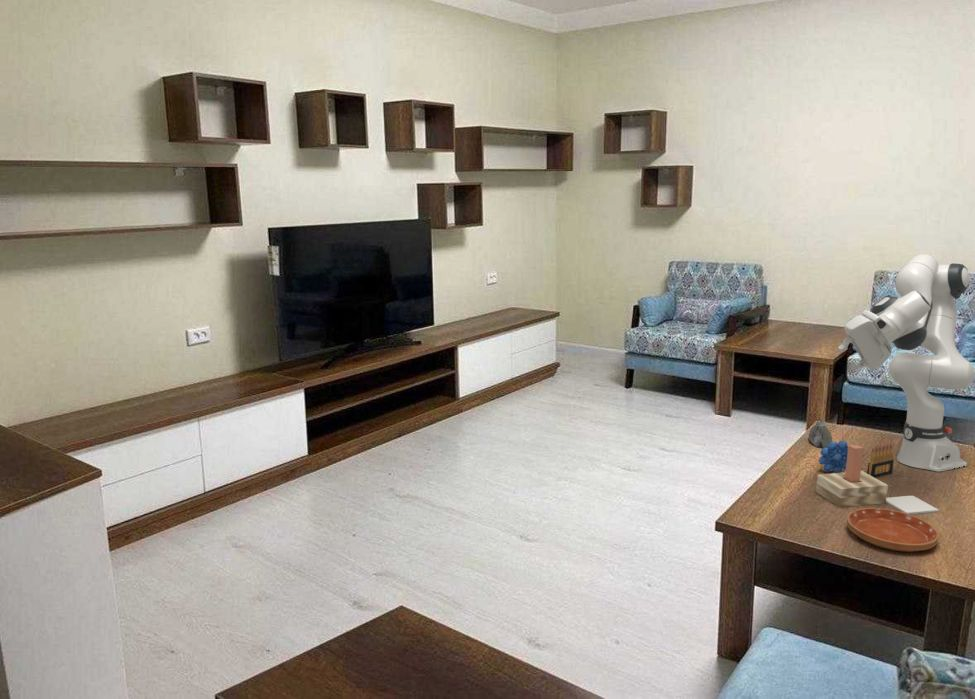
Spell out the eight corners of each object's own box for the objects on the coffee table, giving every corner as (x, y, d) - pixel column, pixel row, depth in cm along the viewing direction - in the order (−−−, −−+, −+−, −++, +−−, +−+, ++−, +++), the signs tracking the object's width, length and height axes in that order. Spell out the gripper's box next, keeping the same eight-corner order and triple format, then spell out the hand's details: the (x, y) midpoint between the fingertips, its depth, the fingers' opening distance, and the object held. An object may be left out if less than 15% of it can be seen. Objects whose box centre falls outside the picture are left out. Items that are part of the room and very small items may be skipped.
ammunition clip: (871, 478, 256) (875, 445, 253) (866, 476, 257) (870, 443, 255) (892, 473, 260) (896, 440, 258) (887, 471, 262) (891, 438, 259)
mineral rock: (811, 436, 299) (813, 411, 297) (840, 441, 292) (842, 416, 290) (801, 444, 289) (803, 419, 287) (830, 450, 283) (833, 425, 280)
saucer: (945, 535, 215) (947, 523, 215) (925, 565, 199) (927, 552, 198) (860, 512, 230) (861, 501, 229) (834, 538, 214) (836, 526, 213)
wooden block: (852, 486, 242) (857, 444, 239) (858, 490, 239) (863, 447, 236) (843, 487, 241) (848, 445, 238) (850, 490, 238) (854, 448, 235)
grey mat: (912, 497, 241) (912, 495, 241) (938, 511, 230) (938, 509, 230) (881, 499, 239) (881, 498, 239) (906, 514, 228) (906, 512, 228)
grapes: (855, 472, 262) (858, 438, 259) (854, 478, 256) (858, 444, 253) (818, 466, 267) (821, 433, 264) (817, 472, 261) (820, 439, 258)
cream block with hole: (861, 488, 248) (863, 470, 247) (887, 503, 236) (889, 485, 235) (816, 492, 245) (817, 474, 243) (839, 507, 233) (841, 489, 232)
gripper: (886, 348, 245) (851, 375, 247) (863, 306, 235) (827, 334, 237) (900, 356, 240) (864, 384, 241) (877, 314, 230) (840, 343, 231)
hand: (846, 359), depth 239 cm, fingers open, 8 cm apart
